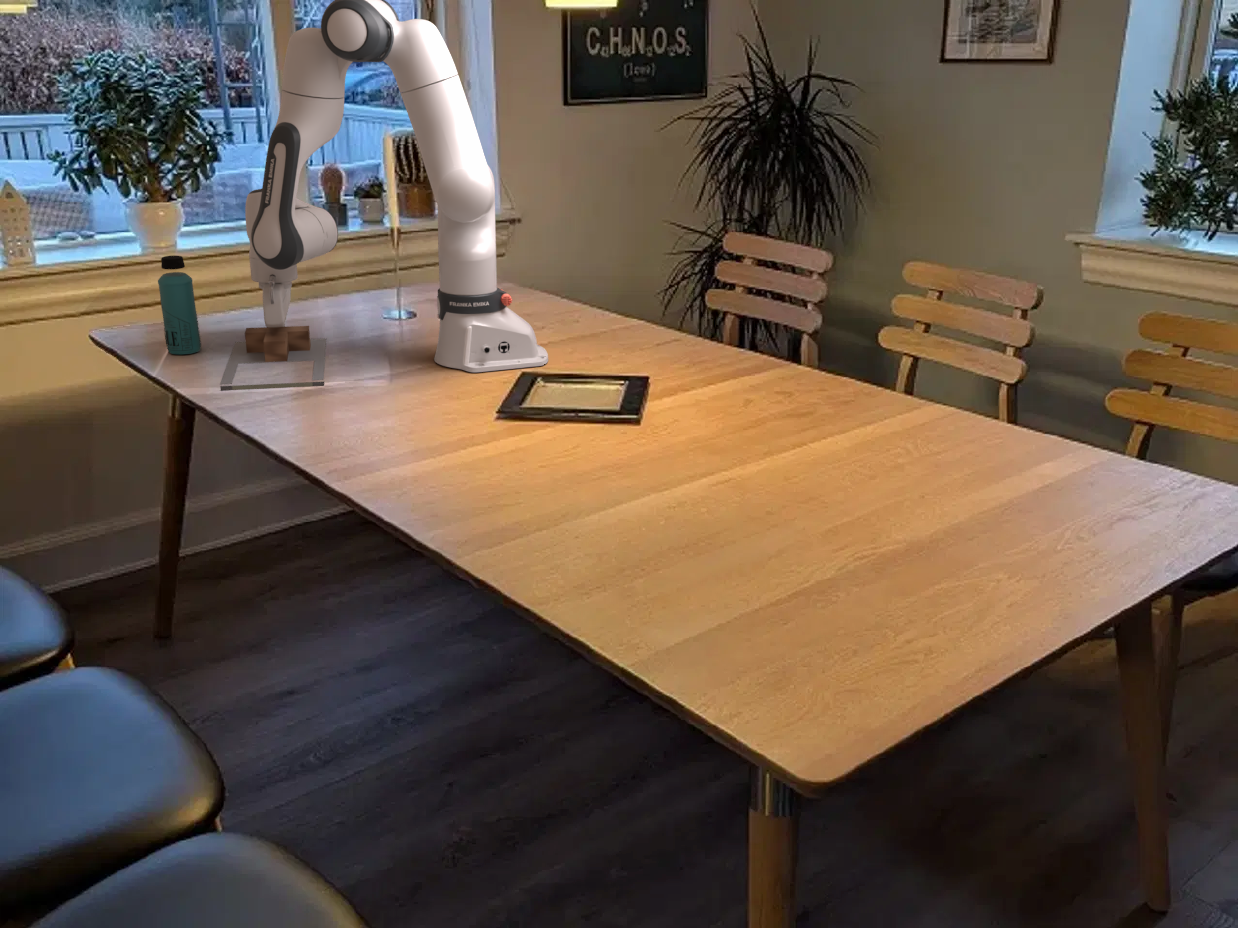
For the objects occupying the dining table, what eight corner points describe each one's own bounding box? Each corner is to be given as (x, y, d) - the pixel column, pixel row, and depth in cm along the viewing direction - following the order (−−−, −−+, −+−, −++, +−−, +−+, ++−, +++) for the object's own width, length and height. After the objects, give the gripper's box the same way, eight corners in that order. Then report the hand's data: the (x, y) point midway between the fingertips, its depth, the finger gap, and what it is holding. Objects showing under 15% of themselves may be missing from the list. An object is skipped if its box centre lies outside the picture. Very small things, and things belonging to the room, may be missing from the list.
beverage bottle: (208, 353, 222) (196, 253, 214) (193, 363, 216) (180, 260, 208) (177, 352, 222) (164, 252, 215) (161, 361, 216) (147, 258, 209)
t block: (310, 345, 225) (309, 325, 223) (308, 360, 215) (306, 340, 213) (248, 347, 222) (246, 327, 221) (243, 362, 212) (241, 342, 211)
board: (327, 344, 230) (326, 338, 230) (324, 385, 204) (323, 379, 203) (235, 347, 226) (235, 341, 226) (220, 390, 200) (220, 384, 200)
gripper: (287, 281, 211) (293, 351, 216) (293, 259, 230) (299, 325, 235) (252, 282, 210) (259, 352, 215) (261, 260, 228) (267, 326, 233)
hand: (280, 338), depth 225 cm, fingers closed
